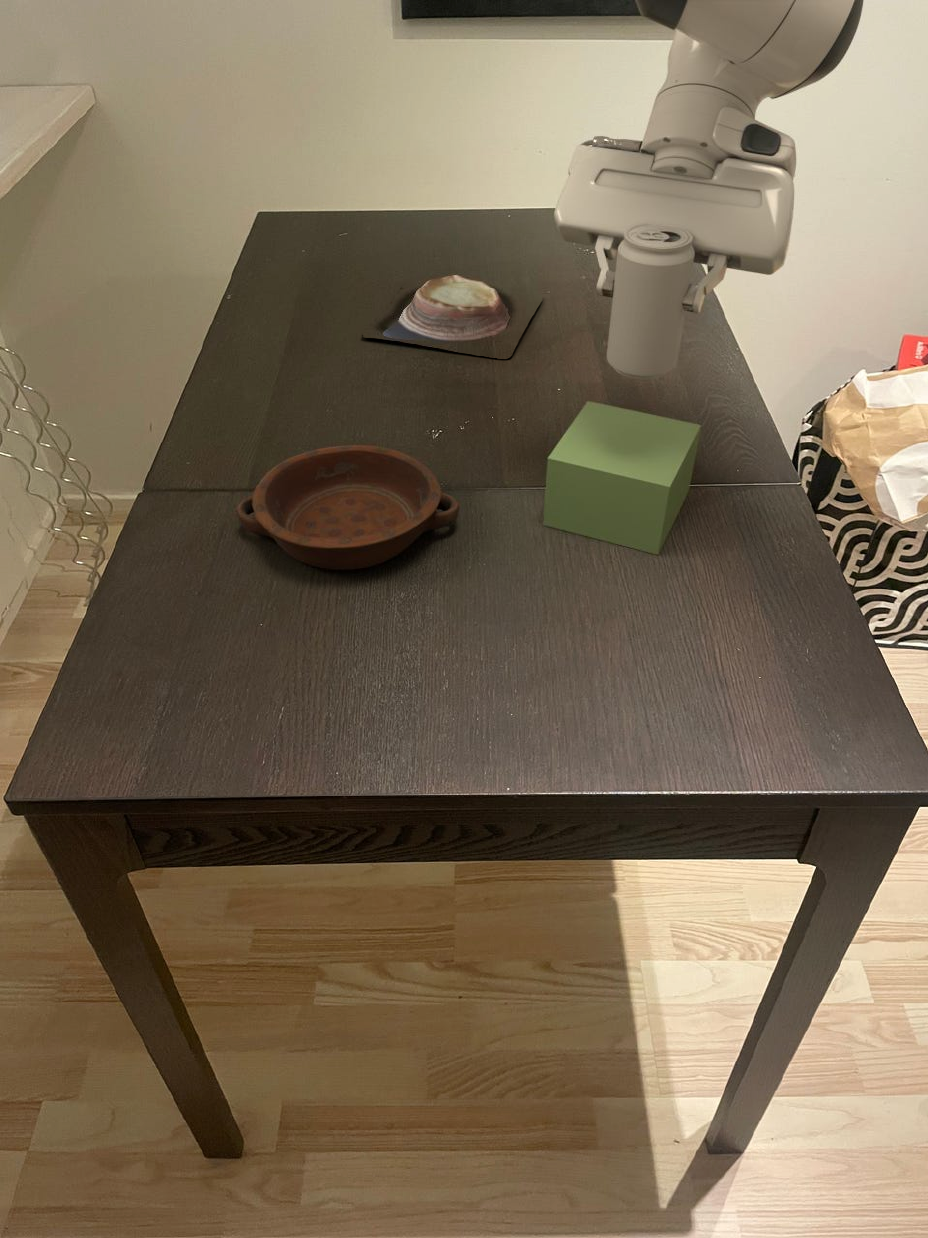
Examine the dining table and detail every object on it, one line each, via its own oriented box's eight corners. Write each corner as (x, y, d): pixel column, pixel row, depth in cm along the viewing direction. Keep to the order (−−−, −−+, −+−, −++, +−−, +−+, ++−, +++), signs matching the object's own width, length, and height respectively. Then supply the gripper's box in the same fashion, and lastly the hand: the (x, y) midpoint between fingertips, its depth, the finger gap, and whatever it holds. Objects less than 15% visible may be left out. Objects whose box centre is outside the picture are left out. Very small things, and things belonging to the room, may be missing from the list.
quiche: (358, 340, 127) (356, 311, 125) (408, 281, 142) (407, 254, 139) (510, 361, 123) (511, 332, 120) (545, 298, 137) (547, 271, 135)
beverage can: (681, 383, 85) (704, 248, 77) (608, 383, 85) (624, 248, 77) (670, 350, 89) (691, 219, 81) (602, 349, 89) (616, 219, 81)
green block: (688, 491, 101) (701, 424, 96) (658, 555, 93) (670, 486, 88) (581, 465, 105) (587, 400, 99) (543, 525, 97) (547, 457, 91)
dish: (463, 583, 90) (463, 541, 86) (227, 591, 89) (218, 549, 86) (455, 479, 103) (455, 439, 99) (249, 485, 102) (242, 445, 99)
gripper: (573, 112, 82) (527, 266, 82) (815, 142, 76) (765, 307, 76) (585, 153, 88) (542, 295, 88) (810, 183, 82) (764, 336, 82)
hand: (647, 301), depth 82 cm, fingers closed on beverage can, 6 cm apart
